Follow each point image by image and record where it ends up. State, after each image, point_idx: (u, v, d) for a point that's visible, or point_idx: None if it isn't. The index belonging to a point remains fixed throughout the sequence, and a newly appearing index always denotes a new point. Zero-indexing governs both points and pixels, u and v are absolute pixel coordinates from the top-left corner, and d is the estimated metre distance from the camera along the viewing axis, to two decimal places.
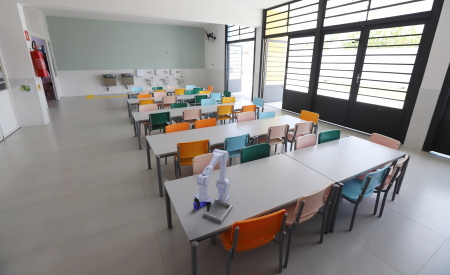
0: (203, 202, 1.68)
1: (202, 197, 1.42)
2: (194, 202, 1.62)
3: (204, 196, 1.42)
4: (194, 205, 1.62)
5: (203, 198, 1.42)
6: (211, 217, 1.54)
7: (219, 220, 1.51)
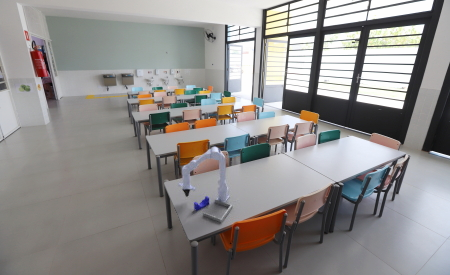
0: (204, 203, 1.67)
1: (185, 185, 1.65)
2: (195, 203, 1.61)
3: (187, 184, 1.64)
4: (195, 206, 1.62)
5: (186, 186, 1.65)
6: (211, 217, 1.54)
7: (219, 220, 1.51)
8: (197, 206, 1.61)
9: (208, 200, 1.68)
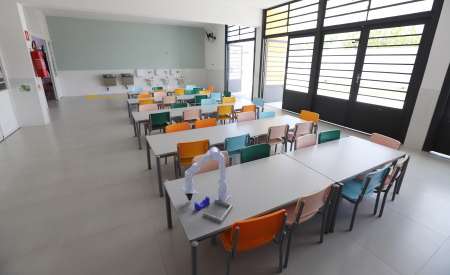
0: (204, 203, 1.67)
1: (188, 189, 1.65)
2: (195, 203, 1.61)
3: (190, 189, 1.65)
4: (195, 206, 1.61)
5: (189, 190, 1.65)
6: (211, 217, 1.54)
7: (219, 220, 1.51)
8: (197, 206, 1.61)
9: (208, 200, 1.67)
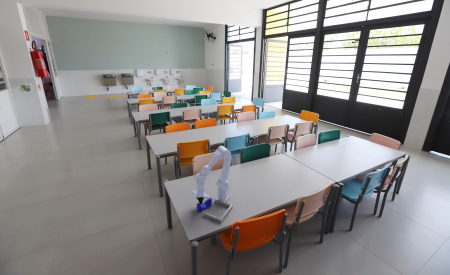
0: (206, 204, 1.66)
1: (199, 193, 1.60)
2: (197, 204, 1.60)
3: (201, 192, 1.60)
4: (197, 207, 1.60)
5: (200, 194, 1.61)
6: (211, 217, 1.54)
7: (219, 220, 1.51)
8: (200, 207, 1.59)
9: (211, 201, 1.66)
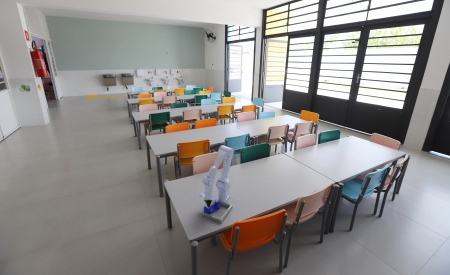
0: (213, 207, 1.62)
1: (208, 196, 1.58)
2: (204, 207, 1.56)
3: (209, 195, 1.58)
4: (204, 210, 1.57)
5: (208, 197, 1.58)
6: (211, 217, 1.54)
7: (219, 220, 1.51)
8: (207, 211, 1.56)
9: (218, 205, 1.63)
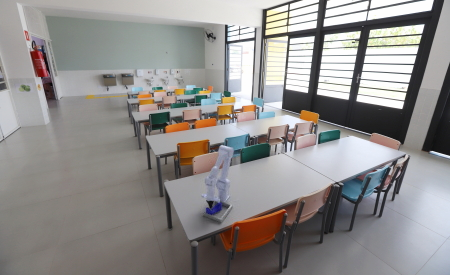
0: (216, 208, 1.62)
1: (210, 197, 1.57)
2: (207, 208, 1.56)
3: (211, 196, 1.57)
4: (206, 211, 1.56)
5: (211, 197, 1.57)
6: (211, 217, 1.54)
7: (219, 220, 1.51)
8: (209, 212, 1.56)
9: (220, 206, 1.62)
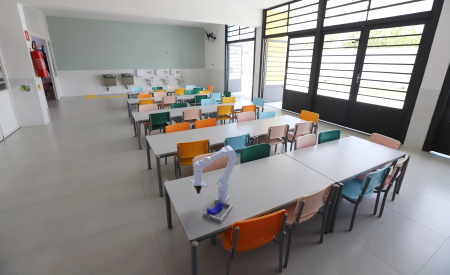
0: (217, 208, 1.61)
1: (197, 182, 1.60)
2: (207, 208, 1.55)
3: (199, 181, 1.60)
4: (207, 211, 1.56)
5: (198, 183, 1.60)
6: (211, 217, 1.54)
7: (219, 220, 1.51)
8: (210, 212, 1.55)
9: (221, 206, 1.62)
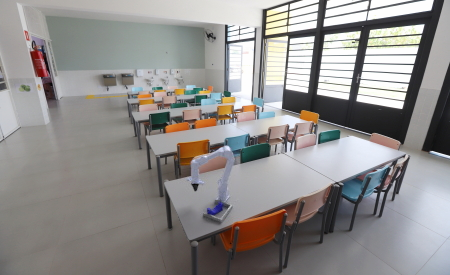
0: (217, 208, 1.61)
1: (194, 179, 1.63)
2: (208, 208, 1.55)
3: (196, 179, 1.63)
4: (208, 212, 1.56)
5: (195, 180, 1.63)
6: (211, 217, 1.54)
7: (219, 220, 1.51)
8: (210, 212, 1.55)
9: (222, 206, 1.61)
